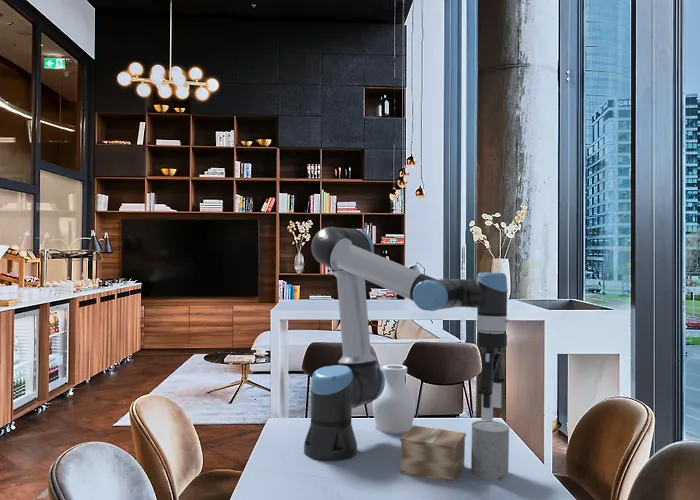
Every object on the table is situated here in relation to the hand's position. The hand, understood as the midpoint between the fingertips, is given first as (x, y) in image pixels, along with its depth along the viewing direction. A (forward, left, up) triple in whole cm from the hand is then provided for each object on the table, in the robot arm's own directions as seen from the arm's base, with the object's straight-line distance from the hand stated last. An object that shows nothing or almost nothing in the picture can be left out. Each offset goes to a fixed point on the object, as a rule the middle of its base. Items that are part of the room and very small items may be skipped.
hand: (491, 413), depth 145 cm
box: (-14, -4, -16) cm, 22 cm away
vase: (-35, +25, -16) cm, 46 cm away
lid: (-14, -4, -8) cm, 17 cm away
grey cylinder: (0, 0, -16) cm, 16 cm away
